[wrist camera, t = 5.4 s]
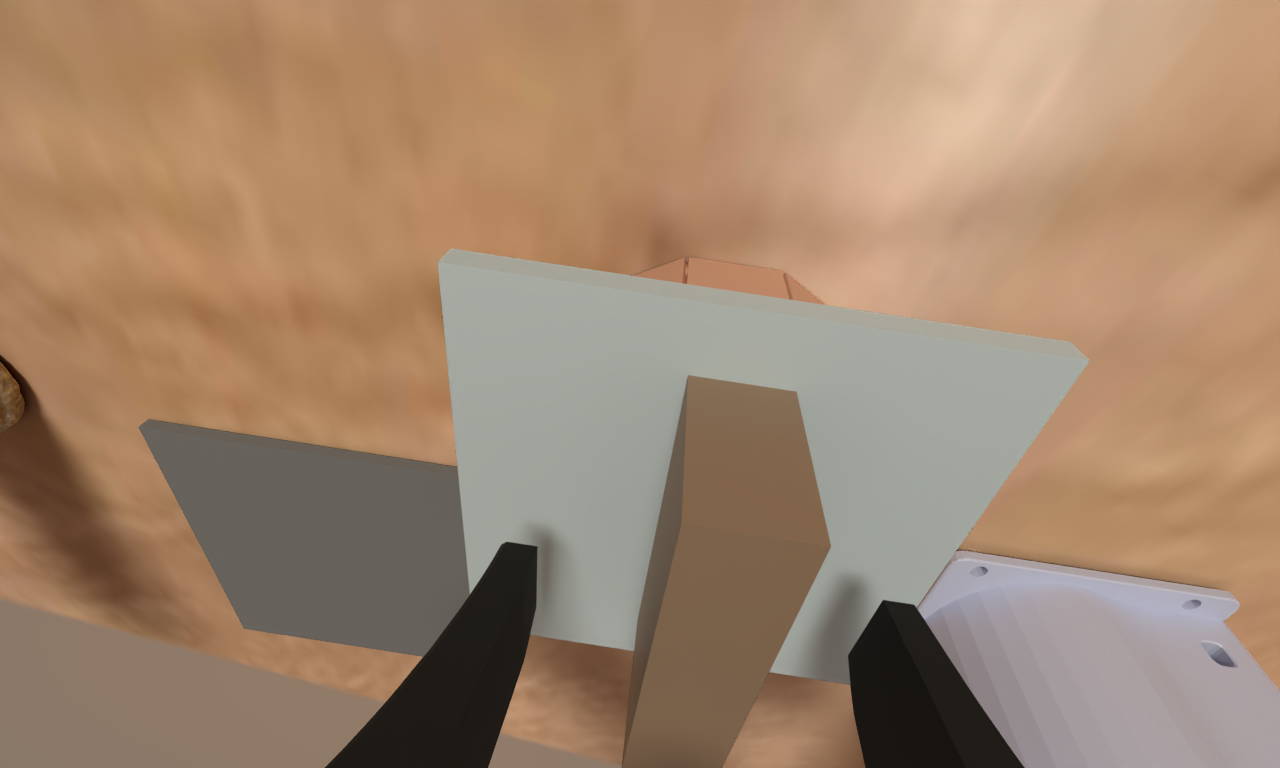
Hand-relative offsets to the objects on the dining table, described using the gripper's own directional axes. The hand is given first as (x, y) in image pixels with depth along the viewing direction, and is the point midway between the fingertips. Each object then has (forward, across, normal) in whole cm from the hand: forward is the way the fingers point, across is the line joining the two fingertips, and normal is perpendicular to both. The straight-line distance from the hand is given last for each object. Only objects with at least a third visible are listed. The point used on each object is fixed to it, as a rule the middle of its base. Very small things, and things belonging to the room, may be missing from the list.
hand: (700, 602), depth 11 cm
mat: (+6, +12, +10) cm, 17 cm away
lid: (+2, 0, 0) cm, 2 cm away
